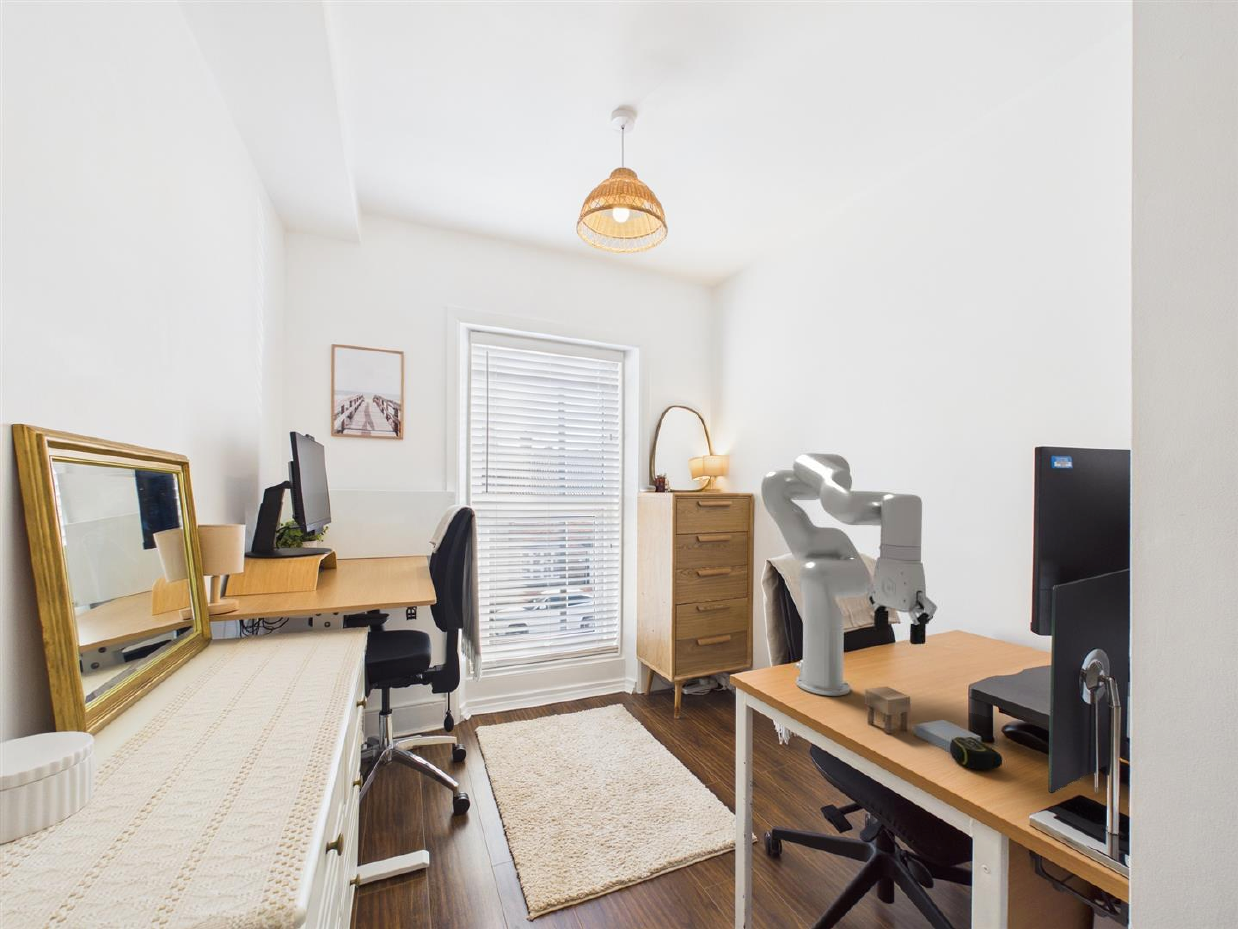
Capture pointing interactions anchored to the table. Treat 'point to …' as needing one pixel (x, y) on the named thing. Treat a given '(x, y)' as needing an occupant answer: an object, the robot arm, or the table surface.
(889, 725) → the stool
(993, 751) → the tape measure
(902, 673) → the table surface
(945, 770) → the table surface
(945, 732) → the plinth
